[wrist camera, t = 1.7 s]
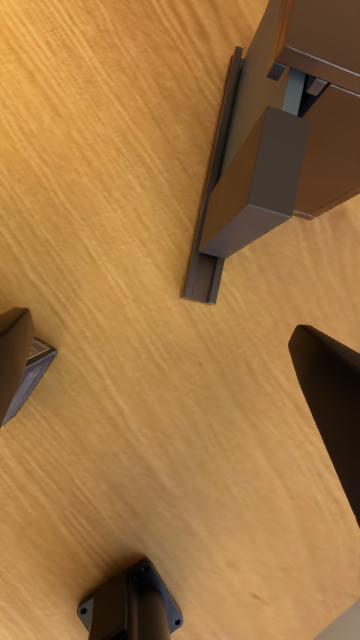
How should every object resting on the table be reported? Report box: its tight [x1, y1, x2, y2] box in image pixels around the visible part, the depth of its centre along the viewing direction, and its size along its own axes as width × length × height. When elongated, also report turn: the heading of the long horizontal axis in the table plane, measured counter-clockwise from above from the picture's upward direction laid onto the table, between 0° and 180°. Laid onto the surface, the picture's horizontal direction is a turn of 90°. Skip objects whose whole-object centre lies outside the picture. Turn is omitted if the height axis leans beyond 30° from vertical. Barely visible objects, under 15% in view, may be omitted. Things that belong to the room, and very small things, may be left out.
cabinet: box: [180, 0, 360, 305], centre depth 18 cm, size 20×10×13 cm, turn 168°
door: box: [198, 0, 311, 258], centre depth 18 cm, size 16×2×10 cm, turn 168°
